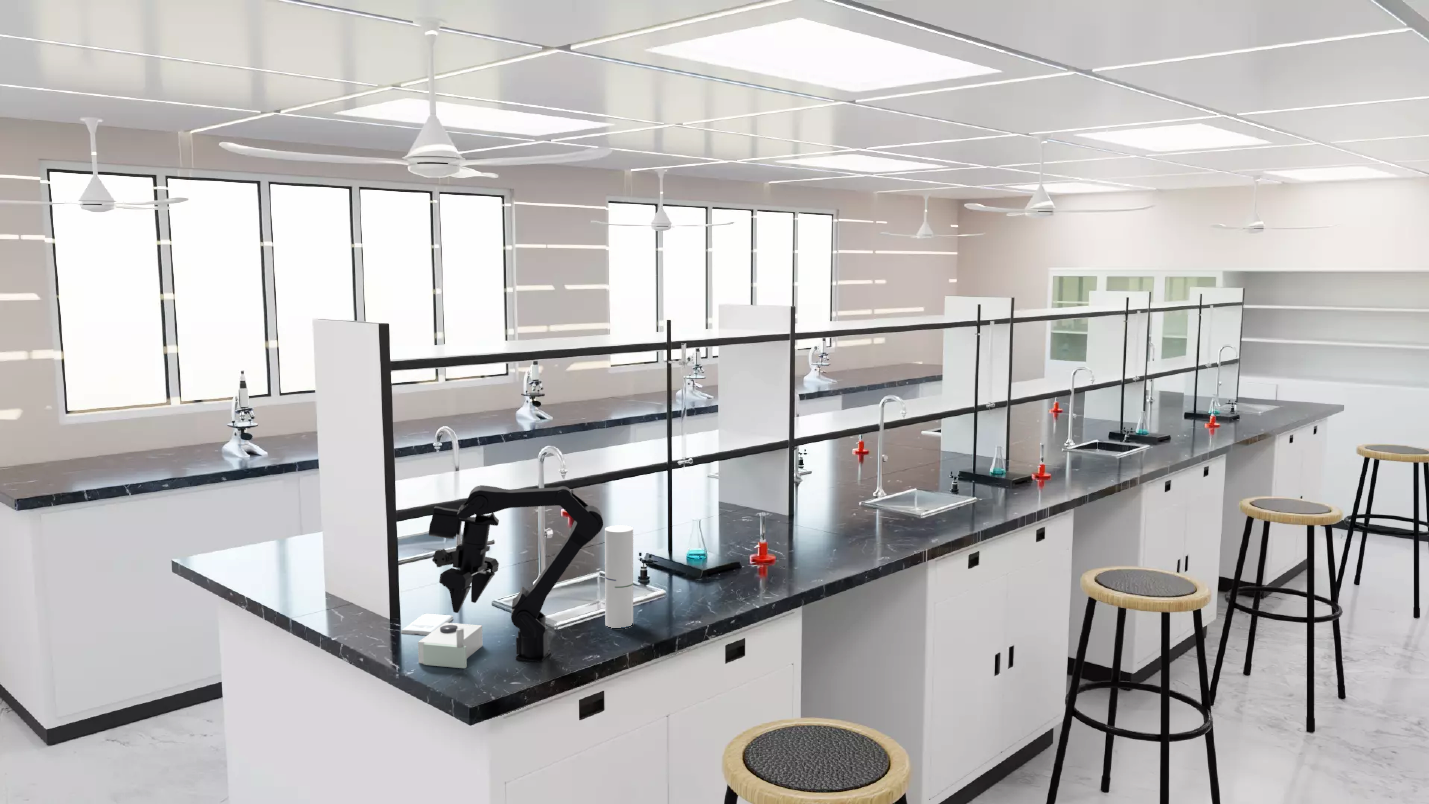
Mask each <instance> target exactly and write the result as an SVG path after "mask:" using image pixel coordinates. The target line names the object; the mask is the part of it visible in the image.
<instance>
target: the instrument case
mask: <svg viewBox="0 0 1429 804" xmlns="http://www.w3.org/2000/svg"><path fill="white" fill-rule="evenodd" d="M458 628H463V629H464V646H466V657H467V659H468V658H470V657H471V656H472V655H473V654H474V653H476V652H477V651H478V650H479V649H480V648H482V647H483V645H484V644H483V642H484V641H483V625H480V624H469V623H468V624H467V623H456V622H449V623H444V624H443V625H441V626H440V627H438V628H437V629H436V630H434V631H433V632H431V633H430V634H429V635H425V636H424V637H423V638H421V639H420V640H419V641H417V652H418V664H424V655H423V644H424V643H434V644H446V645H457V638H456V629H458Z"/></svg>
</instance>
